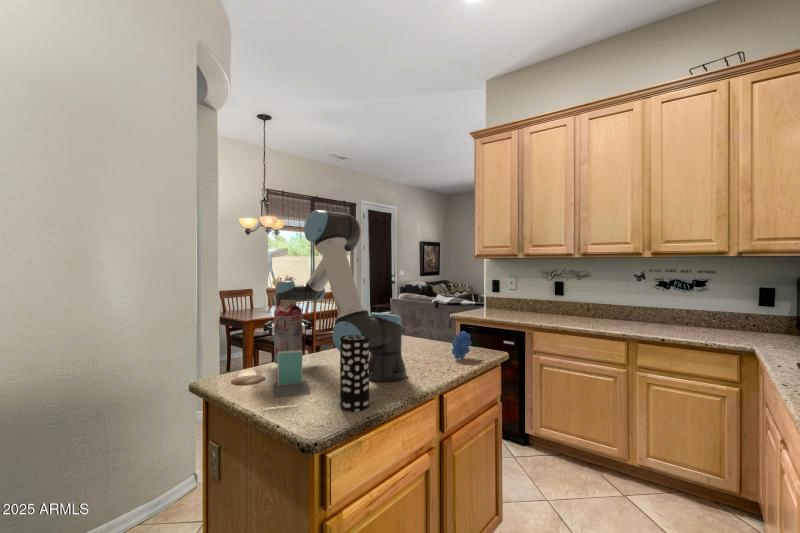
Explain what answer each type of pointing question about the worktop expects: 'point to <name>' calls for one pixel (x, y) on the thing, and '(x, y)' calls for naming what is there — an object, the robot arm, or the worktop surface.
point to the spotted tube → (354, 372)
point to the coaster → (248, 380)
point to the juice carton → (287, 328)
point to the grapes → (461, 345)
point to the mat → (290, 389)
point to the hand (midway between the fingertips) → (288, 330)
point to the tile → (289, 367)
